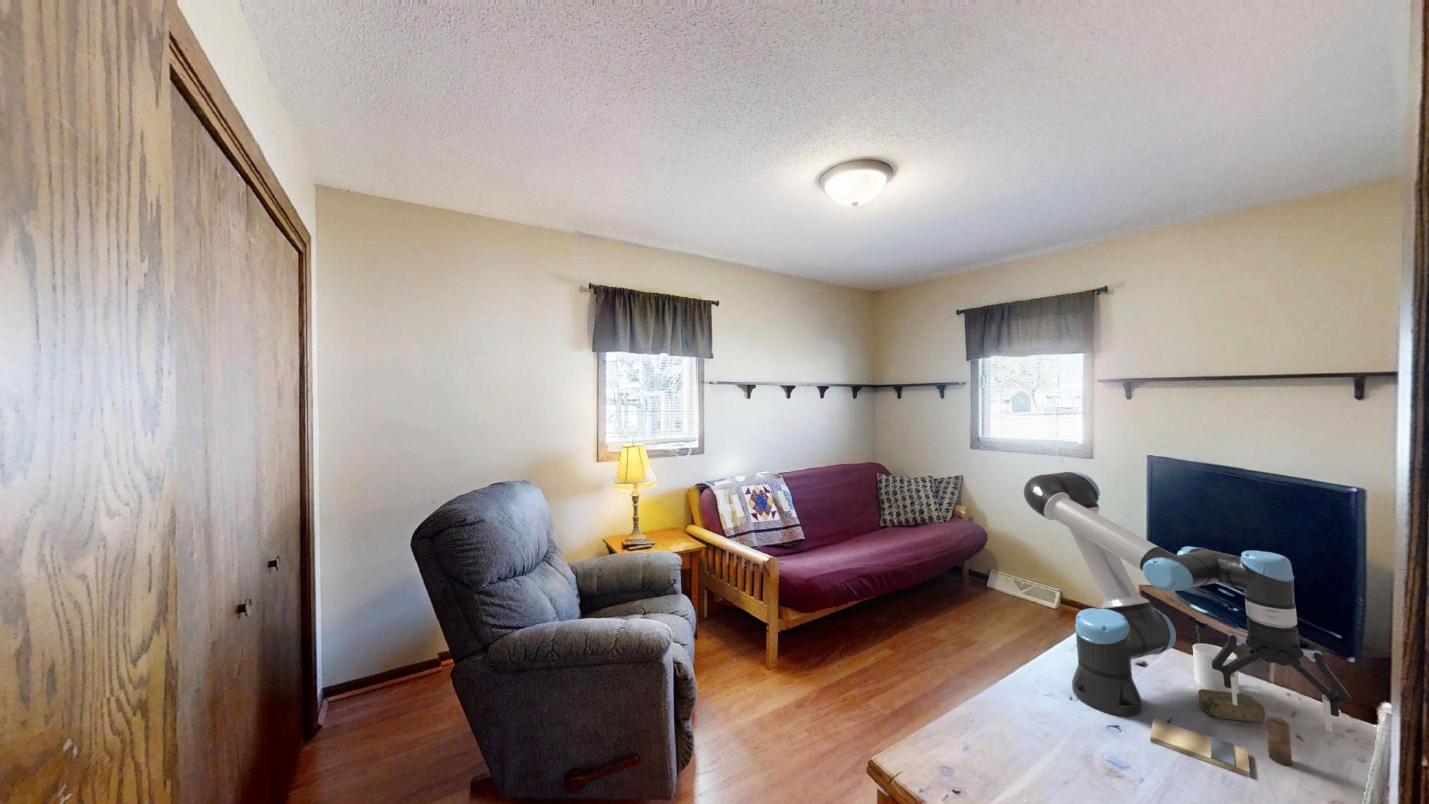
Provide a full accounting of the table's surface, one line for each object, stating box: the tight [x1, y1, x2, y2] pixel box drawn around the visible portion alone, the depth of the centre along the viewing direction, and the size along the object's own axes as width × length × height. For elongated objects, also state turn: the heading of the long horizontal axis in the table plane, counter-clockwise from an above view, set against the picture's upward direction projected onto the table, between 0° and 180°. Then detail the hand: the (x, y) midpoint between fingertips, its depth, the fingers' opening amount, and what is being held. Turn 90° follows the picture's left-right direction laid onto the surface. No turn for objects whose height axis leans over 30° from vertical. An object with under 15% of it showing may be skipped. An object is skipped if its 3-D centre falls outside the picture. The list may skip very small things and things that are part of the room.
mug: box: [1192, 643, 1240, 693], centre depth 132 cm, size 9×12×11 cm
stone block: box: [1198, 688, 1266, 724], centre depth 121 cm, size 6×12×5 cm, turn 73°
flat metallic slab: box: [1150, 718, 1251, 778], centre depth 119 cm, size 16×34×2 cm, turn 133°
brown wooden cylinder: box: [1265, 714, 1293, 767], centre depth 106 cm, size 3×3×10 cm
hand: (1279, 715), depth 106 cm, fingers open, 13 cm apart
